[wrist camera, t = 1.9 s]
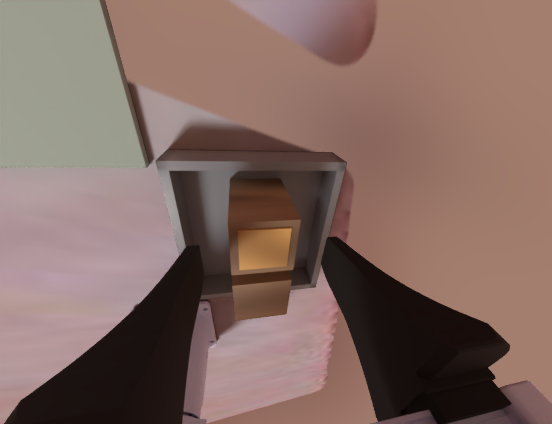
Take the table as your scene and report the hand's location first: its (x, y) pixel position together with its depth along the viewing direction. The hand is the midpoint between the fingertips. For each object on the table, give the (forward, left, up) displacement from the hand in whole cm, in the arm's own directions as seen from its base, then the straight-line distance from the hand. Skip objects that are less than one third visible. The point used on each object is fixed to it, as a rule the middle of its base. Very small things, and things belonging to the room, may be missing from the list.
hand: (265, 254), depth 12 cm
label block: (0, 0, -7) cm, 7 cm away
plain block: (-5, 0, -7) cm, 8 cm away
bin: (-3, 0, -7) cm, 7 cm away
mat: (+7, +12, -7) cm, 16 cm away
